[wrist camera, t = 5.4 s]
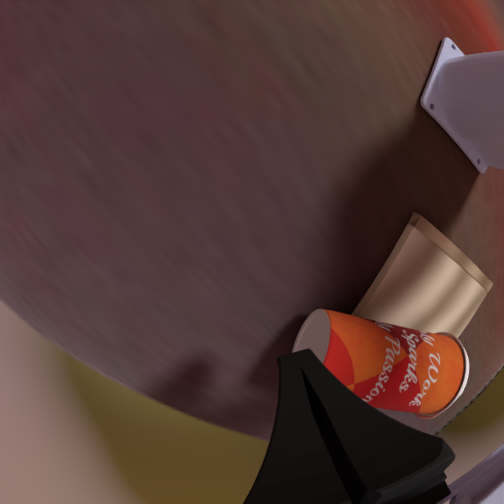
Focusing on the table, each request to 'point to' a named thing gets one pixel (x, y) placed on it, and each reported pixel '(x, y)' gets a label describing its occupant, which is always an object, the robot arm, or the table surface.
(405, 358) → the paper cup
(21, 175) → the table surface
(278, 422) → the robot arm
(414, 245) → the birch board
